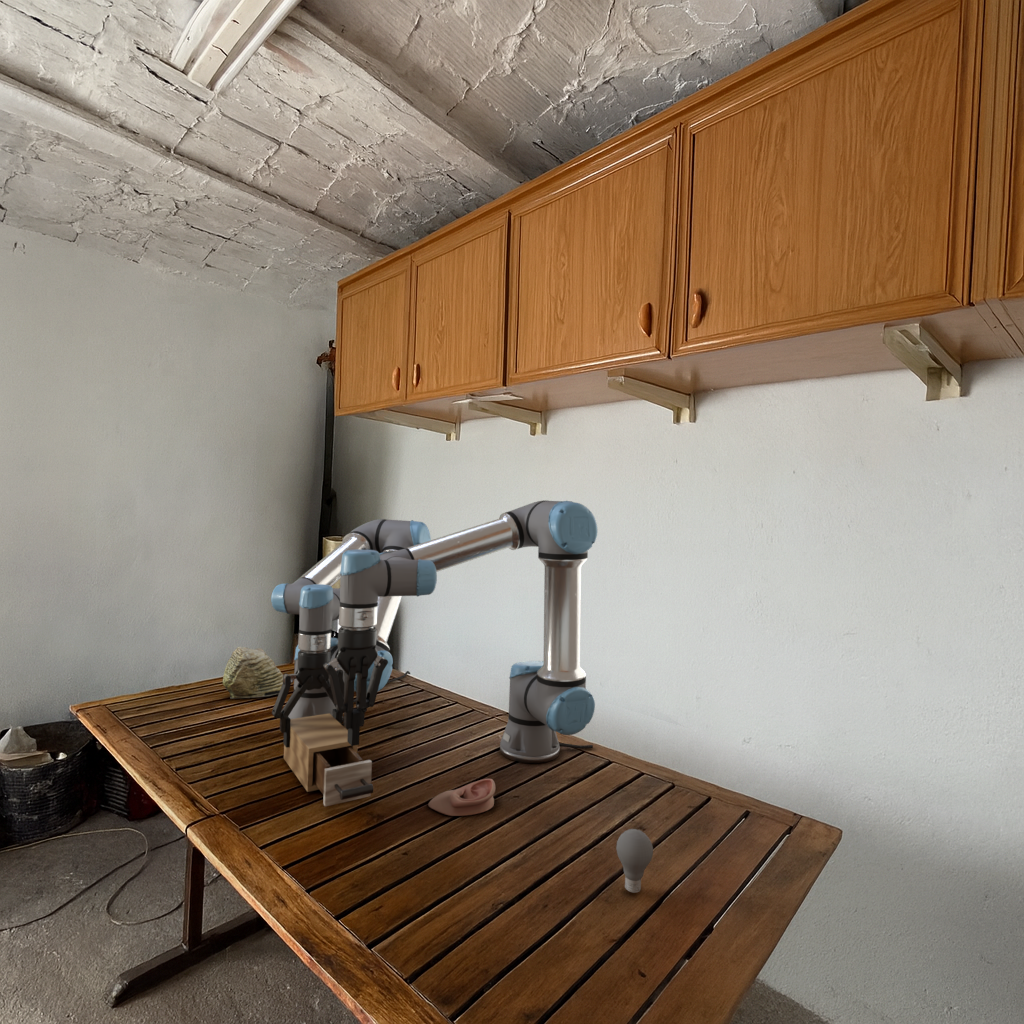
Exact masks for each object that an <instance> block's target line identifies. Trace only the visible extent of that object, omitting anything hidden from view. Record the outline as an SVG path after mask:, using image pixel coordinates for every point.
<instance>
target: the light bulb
mask: <svg viewBox="0 0 1024 1024" xmlns="http://www.w3.org/2000/svg"><path fill="white" fill-rule="evenodd" d="M615 849H616V854H617V857H618V859H619V861H620V863H621V865H622V867H623V873H624V874H623V875H624V876H625V878H624V888H625V890H627V891H628V892H630V893H634V894H635V893H639V892H640V891H641V889H642V887H641V886H642V879H643V877H644V875H645V871H646V868H647V867H648V866H649V864H650V863H651V861H652V859H653V855H654V847H653V843H652V841H651V838H649V836H648V835H647V834H646V833H645V832H643V831H642V830H641V829H636V828H629V829H627V830H625V831H623V832H622V833H621V834H620V835H619V837H618V839H617V841H616V847H615Z"/></svg>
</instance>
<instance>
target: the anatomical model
mask: <svg viewBox="0 0 1024 1024" xmlns="http://www.w3.org/2000/svg"><path fill="white" fill-rule="evenodd" d="M495 793H496V783H495V781H494V779H492V778H483V779H480V780H477V781H473V782H470V783H468V784H465V785H464V786H461V787H459V788H456V789H451V790H446V791H443V792H441V793H439V794H437V795H436V796H434V797H433V798H431V800H429V802H428V804H427V805H428V808H430V809H431V810H434V811H436V812H438V813H439V814H443V815H446V816H450V817H461V816H472V815H478V814H481V813H484V812H487V811H489V810H491V809H492V808H493V807H494V806H495V805H494V804H495V798H494V795H495Z"/></svg>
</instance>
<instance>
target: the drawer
mask: <svg viewBox="0 0 1024 1024" xmlns="http://www.w3.org/2000/svg"><path fill="white" fill-rule="evenodd" d="M372 767H373V761H372V760H371V759H366V760H363V758H362V757H361V756H360V755H359V753H358V752H357V753H356V752H355V751H354V750H353V749H352V748H351V747H350V746H347V747H341V748H336V749H330V750H325V751H319V752H314V753H313V782H314V783H315V784H316V786H317V787H318V788H319V791H320V793H321V794H322V795H323V799H322V801H323V803H322V805H323V806H324V807H330V806H334V805H338V804H342V803H347V802H351V801H356V800H359V799H364V798H368V797H372V796H371V795H372V794H373V793H374V791H375V790H374V789H375V788H374V784H373V783H372V773H373V772H372V770H373V769H372Z"/></svg>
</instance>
